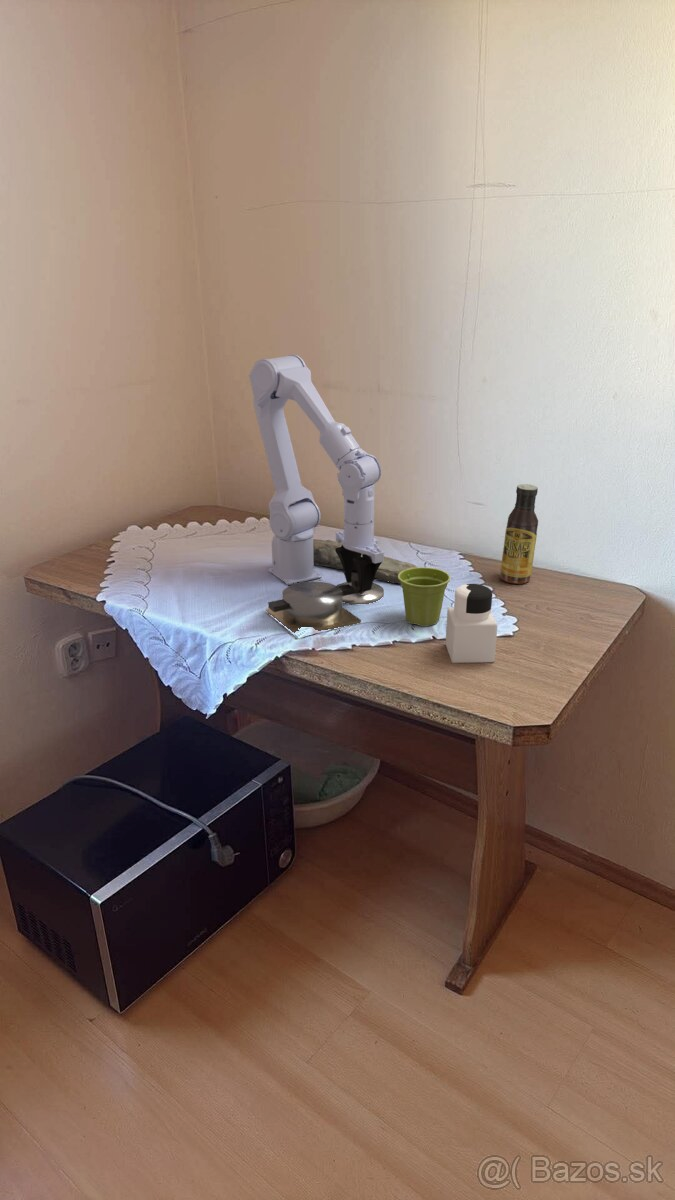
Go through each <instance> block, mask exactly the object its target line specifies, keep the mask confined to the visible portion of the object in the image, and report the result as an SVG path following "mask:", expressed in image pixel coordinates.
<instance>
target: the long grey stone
mask: <svg viewBox="0 0 675 1200" xmlns="http://www.w3.org/2000/svg"><path fill="white" fill-rule="evenodd" d="M341 545H342V543H341V542H340V543H338V542H336V541H333V540H330V539H326V540H324V539H315V538H313V557H314V566H321V567H329V568H331V569H337V570H340V571H341V570H343V566H342V563H341V561H340V559H339V557H338V555H337V553H336V551H335V549H336V548H338V547H341ZM361 557H362V555H361ZM417 567H418V566H417V565H415V564H413V563H410V562H407V561H401V560H398V559H396V558H395V559H394V558H393V557H388V556H384V561H383V562H382V563H381V565H380V566H379V568H378V570H377V572H376V574H375V577H374V579H377V580H380V581H383V580H384V581H383V582H386V581H389V582H388V583H390V582H394V583H393V584H398V585H401V583H400V581H399V579H398V574H399V573H400V572H401V571H403V570H406V569H409V568H417Z"/></svg>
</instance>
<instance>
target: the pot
mask: <svg viewBox="0 0 675 1200" xmlns="http://www.w3.org/2000/svg"><path fill="white" fill-rule="evenodd" d="M350 594H355V588H353V587H352V586H350V585H349V584H347V585H343V586H339V587H338V586H337V585H335V584H333V583H329V582H324V581H313V580H309V581H303V582H299V583H294V584H289V586H287V587H285V588H284V589H283V591H282V594H281V596H282V599H277V600H273V601H269V602H268V603H267V605H268V608H267V609H265V612H266V611H267V612H268V613H269V614H270V615H272V616H273V617H274V618H276V619H277V620H278V621H279V622H281V623H282V624H283V625H284V626H286V627H287V628H288V629H290V630H291V631H292V632H294V633H295V632H296V631H299V630H298V628H299V629H300V628H301V627H313V628H314V629H315V630H318V631H321V630H328V629H334V628H338V627H343V628H345V627H344V626H347V627H350V626H349V625H351V626H354V625H353V624H355V625H358V624H357V623H359V624H361V623H362V620H361V618H359V617H358V616H356V615H354V614H353V613H352V612H351V611H349V610H348V609H346V608H344V606H343V603H342V596H346V595H350ZM270 615H269V616H270ZM360 622H361V623H360Z"/></svg>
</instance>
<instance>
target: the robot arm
mask: <svg viewBox="0 0 675 1200" xmlns="http://www.w3.org/2000/svg"><path fill="white" fill-rule="evenodd" d="M311 373H312V371H311V369H310V368H308V366H307V365H306V363H305V361H304V359H303V358H302V357H301V356H299V355H297V354H288V355H287V356H286V355H285V356H279V357H273V358H272V357H271V358H261V359H258V360H256V362H255V363H254V365H253V366H252V369H251V371H250V372H249V374H248V377H249V381H250V385H251V388H252V393H253V400H252V401H253V408H254V412H255V416H256V421H257V424H258V429H259V431H260V436H261V440H262V444H263V449H264V452H265V456H266V460H267V464H268V467H269V468H268V469H269V471H270V475H271V479H272V483H273V488H274V490H275V491H274V494H273V496H272V498H271V499H270V501H269V503H268V509H269V526H270V529H271V531H272V533H273V535H274V536H273V537H272V539H271V559H272V560H271V561H272V564H271V565H272V567H268V572H270V573H271V574H273V575H274V576H276V577H277V578H278V579H280V580H281V581H282V582H284V583H285V584H286V585H293V583H294V584H296V583H297V582H299V583H301V582H309V581H313V580H317V579H321V578H322V577H323V575H322V574H321V573H319V572H317V571H316V570H314V567H315V565H314V557H313V539H314V534H315V533H316V527H318V526H319V524H320V523H321V516H322V515H321V511H320V507H319V506H318V505H317V503H316V501H315V499H314V495H313V493H312V492H311V491H310V490H309V489H308V488H306V487H304V486H303V485H302V480H301V477H300V472H299V469H298V468H299V467H298V464H297V460H296V456H295V452H294V449H293V443H292V440H291V436H290V431H289V427H288V423H287V420H286V416H285V411H284V407H285V405H286V404H287V402H288V401H289V400H292V401H295V402H296V404H297V405H298V406H299V408H300V409H301V410H302V412H304V414H305V415H306V417H307V418H308V419H309V420H310V421H311V423H312V424H313V425H314V427H315V428H316V429H317V430H318V431H319V439H318V442H319V444H320V445H321V446H322V448H323V450H324V451H325V452H326V454H327V455H328V457H329V458H330V459H331V461H332V463H333V464H334V465H335V467H336V469H337V470H338V471H339V472H338V473H337V475H336V477H337V481H338V483H339V485H340V487H341V489H342V494H341V495H342V497H343V509H344V510H343V514H344V515H343V517H344V518H343V526H344V527H343V530H341V531H336V532H335V542H338V543H340V542H341V543H342V545H341V547H338V548H336V549H335V551H336V553H337V555H338V557H339V559H340V561H341V563H342V566H343V569H342V570H343V573H344V574H343V575H344V578H345V582H347V583H351V572H352V570H354V569H357V572H358V578H359V588H360V591H361V592H365V591H369V590H371V587H372V584H373V583H374V581H375V578H374V577H375V574H376V572H377V570H378V568H379V566H380V565H381V563H382V562H383V561H384V555H385V552H384V551H383V550H381V549H380V547H379V545H378V544H379V539H378V538H376V537H375V496H376V495H375V490H376V489H375V488H376V487H375V484H376V483H378V482H379V480H380V479H381V474H382V469H381V464H380V462H379V461H378V459H377V457H376V456H375V455H373V454H372V453H371V454H370V453H367V452H366V451H365V450H363V448H362V447H361V446H360V444H359V443H358V442H357V440H356V439H355V437H354V436H353V435H352V430H351V428H349V426H346V424H345V423H342V422H337V421H336V420H335V419H334V418H333V415H332V414H331V412H330V410H329V408H328V407H327V406H326V404H325V402H324V399H323V398H322V397H321V395H320V393H319V392H318V390H317V388H316V387H315V385H314V384H313V381H312V374H311ZM361 555H362V557H361Z"/></svg>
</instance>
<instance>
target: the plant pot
mask: <svg viewBox="0 0 675 1200" xmlns="http://www.w3.org/2000/svg"><path fill="white" fill-rule="evenodd" d="M398 579H399V581H400V583H401V584H400V586H401V588H402V595H403V597H402V598H403V605H404V614H405V619H406V622H408V623H409V622H410V624H411V625H414V624H415V625H418V626H420V627H428V626H433V625H436V624H437V623H438V622H439V621H440V617H441V613H442V607H443V602H444V596H445V591H446V589H447V588H448V584H449V583H450V582H451V575H450V574H449V573H448V572H447V571H444V570H442V569H439V568H434V567H427V566H426V567H425V566H424V567H420V566H417V568H409V569H406V570H403V571H401V572H400V573H399V574H398Z"/></svg>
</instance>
